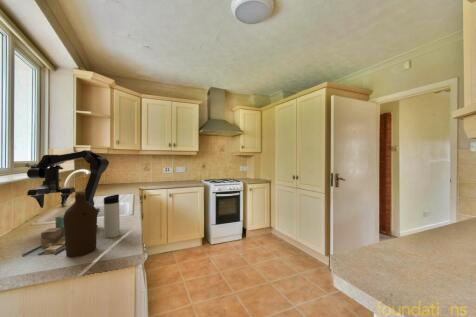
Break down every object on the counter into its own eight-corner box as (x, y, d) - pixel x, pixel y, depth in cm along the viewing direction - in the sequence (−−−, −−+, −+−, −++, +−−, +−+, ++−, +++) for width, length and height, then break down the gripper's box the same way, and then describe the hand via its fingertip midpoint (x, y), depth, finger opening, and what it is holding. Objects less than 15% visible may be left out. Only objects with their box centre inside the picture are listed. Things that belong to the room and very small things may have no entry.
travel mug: (123, 235, 98) (122, 194, 98) (109, 240, 92) (108, 197, 92) (115, 233, 101) (114, 193, 101) (101, 238, 95) (100, 196, 95)
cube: (61, 238, 90) (61, 227, 90) (54, 242, 85) (54, 231, 85) (49, 239, 89) (49, 228, 89) (41, 243, 84) (40, 232, 84)
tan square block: (73, 242, 88) (73, 239, 88) (66, 246, 84) (66, 243, 84) (63, 243, 88) (63, 239, 88) (55, 247, 84) (55, 243, 84)
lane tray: (88, 237, 97) (88, 233, 97) (55, 256, 78) (55, 252, 78) (61, 238, 96) (61, 234, 96) (22, 258, 77) (22, 253, 77)
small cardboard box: (62, 248, 83) (62, 245, 83) (56, 252, 79) (56, 249, 79) (51, 249, 82) (51, 245, 82) (44, 253, 79) (44, 249, 79)
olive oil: (104, 248, 84) (103, 189, 84) (80, 262, 74) (79, 194, 74) (82, 247, 86) (81, 189, 86) (56, 259, 76) (54, 193, 75)
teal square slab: (69, 237, 95) (69, 215, 94) (51, 247, 84) (51, 222, 84) (60, 237, 94) (60, 215, 94) (41, 247, 84) (40, 222, 84)
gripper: (18, 180, 98) (18, 212, 98) (63, 179, 102) (64, 209, 103) (34, 178, 109) (35, 207, 109) (75, 176, 113) (75, 204, 113)
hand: (52, 207), depth 108 cm, fingers open, 9 cm apart
